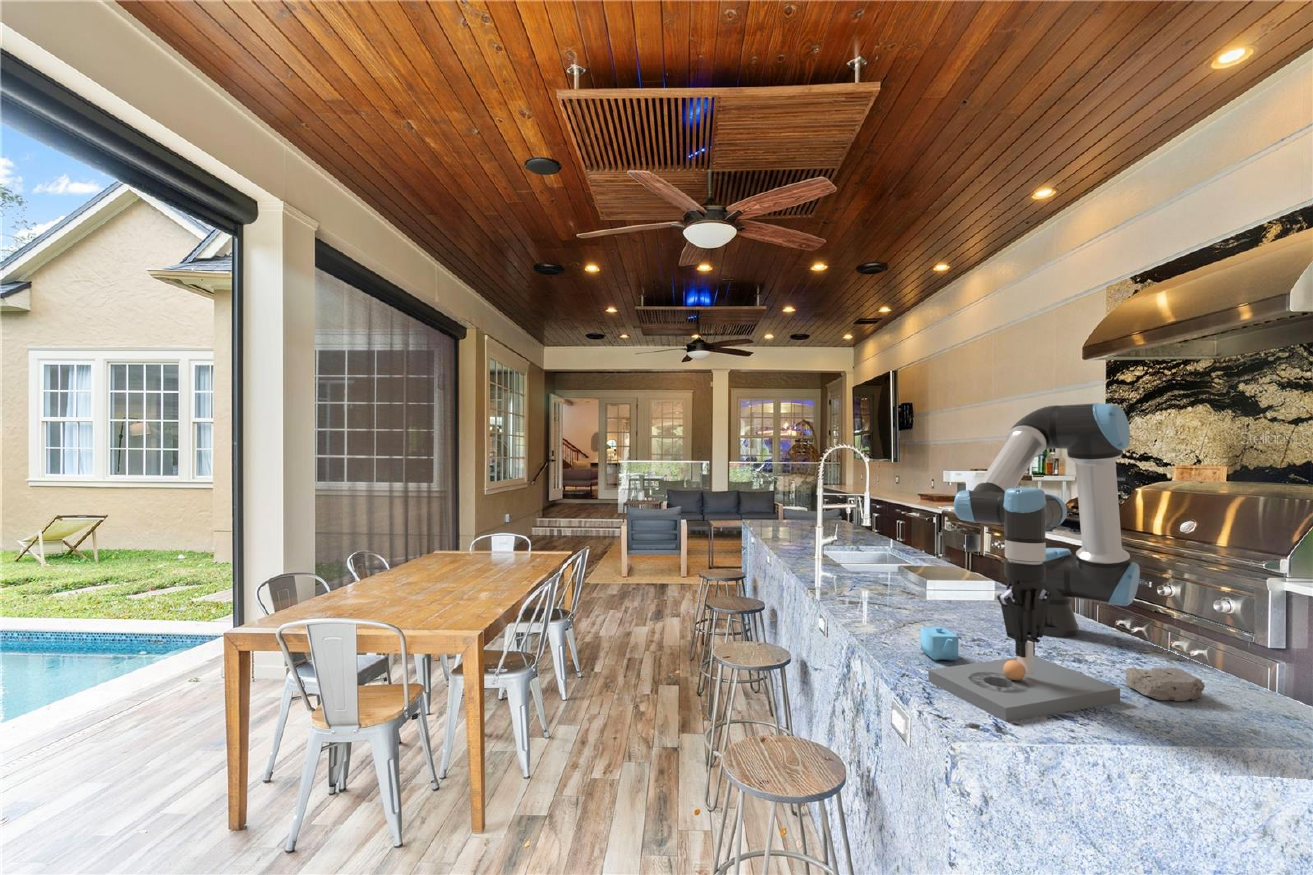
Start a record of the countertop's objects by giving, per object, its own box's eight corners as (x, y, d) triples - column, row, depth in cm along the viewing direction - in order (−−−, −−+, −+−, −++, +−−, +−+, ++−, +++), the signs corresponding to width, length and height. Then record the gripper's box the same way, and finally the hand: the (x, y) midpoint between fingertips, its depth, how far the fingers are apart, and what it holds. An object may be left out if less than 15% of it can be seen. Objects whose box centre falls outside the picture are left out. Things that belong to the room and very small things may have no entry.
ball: (1000, 678, 128) (1014, 673, 130) (1016, 685, 125) (1031, 680, 126) (997, 660, 128) (1012, 655, 129) (1014, 666, 124) (1028, 661, 126)
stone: (1114, 684, 131) (1160, 706, 121) (1117, 658, 131) (1164, 678, 121) (1164, 685, 133) (1213, 708, 123) (1167, 660, 133) (1217, 680, 123)
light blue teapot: (965, 668, 141) (964, 636, 141) (939, 668, 141) (938, 636, 142) (942, 651, 153) (942, 621, 153) (918, 650, 153) (918, 621, 154)
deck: (1032, 667, 142) (1032, 655, 142) (1120, 703, 123) (1120, 688, 123) (928, 683, 133) (928, 669, 133) (1005, 724, 114) (1005, 708, 114)
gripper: (1032, 555, 134) (1032, 662, 133) (986, 559, 130) (986, 668, 130) (1064, 562, 126) (1064, 674, 126) (1016, 565, 123) (1017, 681, 122)
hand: (1025, 671), depth 128 cm, fingers closed
